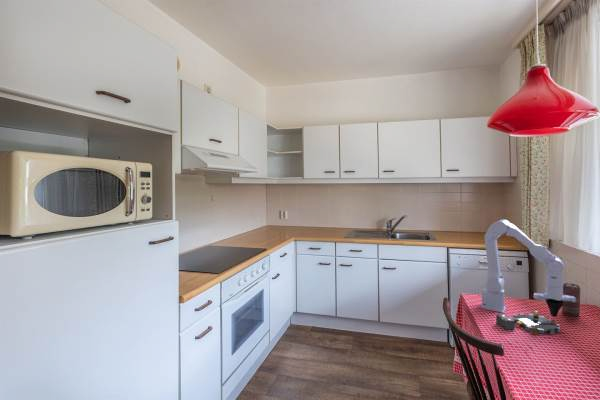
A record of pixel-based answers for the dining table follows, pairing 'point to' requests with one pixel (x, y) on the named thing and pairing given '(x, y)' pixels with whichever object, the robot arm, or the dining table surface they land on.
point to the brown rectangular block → (534, 330)
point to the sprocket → (536, 323)
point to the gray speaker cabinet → (505, 322)
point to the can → (569, 306)
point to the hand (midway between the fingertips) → (553, 315)
